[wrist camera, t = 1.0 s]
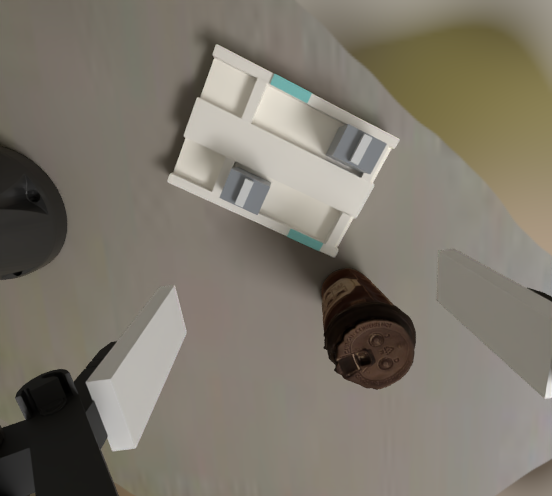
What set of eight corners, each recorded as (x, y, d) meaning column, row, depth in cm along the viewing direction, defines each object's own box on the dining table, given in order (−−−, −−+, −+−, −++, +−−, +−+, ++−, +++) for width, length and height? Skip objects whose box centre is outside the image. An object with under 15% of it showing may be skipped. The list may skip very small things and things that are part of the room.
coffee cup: (301, 311, 40) (312, 383, 28) (321, 252, 38) (342, 301, 25) (365, 327, 41) (404, 404, 28) (388, 269, 38) (441, 326, 26)
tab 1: (226, 192, 34) (218, 198, 29) (237, 166, 33) (230, 168, 28) (259, 207, 35) (257, 216, 30) (271, 182, 34) (270, 187, 29)
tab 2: (325, 155, 33) (333, 155, 28) (338, 127, 32) (349, 123, 27) (358, 171, 33) (372, 174, 29) (372, 144, 33) (389, 143, 28)
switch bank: (174, 179, 35) (166, 182, 33) (220, 51, 32) (215, 43, 29) (330, 251, 38) (334, 258, 35) (391, 140, 34) (400, 139, 31)
